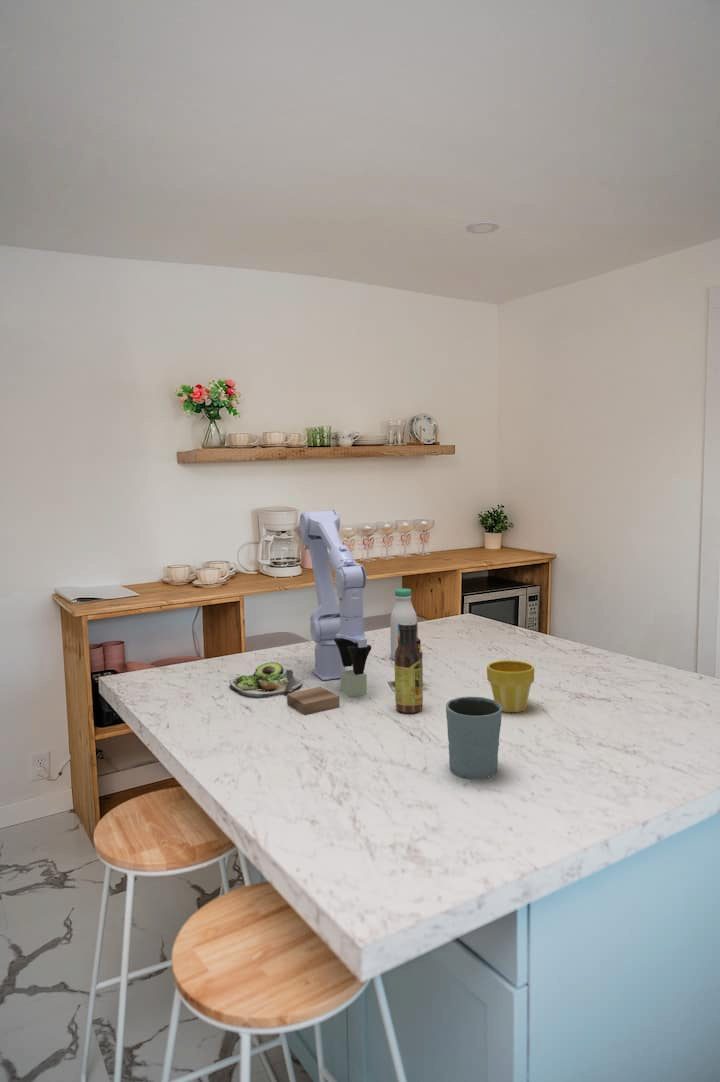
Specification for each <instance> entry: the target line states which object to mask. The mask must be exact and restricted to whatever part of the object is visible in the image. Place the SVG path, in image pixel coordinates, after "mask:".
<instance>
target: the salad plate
mask: <svg viewBox="0 0 720 1082" xmlns="http://www.w3.org/2000/svg"><path fill="white" fill-rule="evenodd" d="M302 684H303V680H302V679H300V678H298V677H296V676H294V671H293V670H292V669H286V670H284V666H282V664H281V663H279V662H276V661H275V662H274V661H273V662H266V663H263V664H260V665H258V666H257V668H255V670H254V673H253V674H247V675H245V674H243V675H241V676H236V677H233V678H232V679H230V681H229V685H230V688H231V689H233V690H234V691H236V692H238V693H240V694H242V695H245V696H248V697H251V696H252V698H269V697H268V696H270V697H274V695H275V696H278V695H279V694H280V695H285V694H289V693H293V691H294V690H295V689H297V688H299V687H300V686H301V685H302ZM256 689H262V690H261V691H263V692H256V691H257V690H256ZM243 690H244V691H243ZM264 690H265V691H269V692H265V691H264ZM252 691H255V692H252ZM288 692H289V693H288Z"/></svg>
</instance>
